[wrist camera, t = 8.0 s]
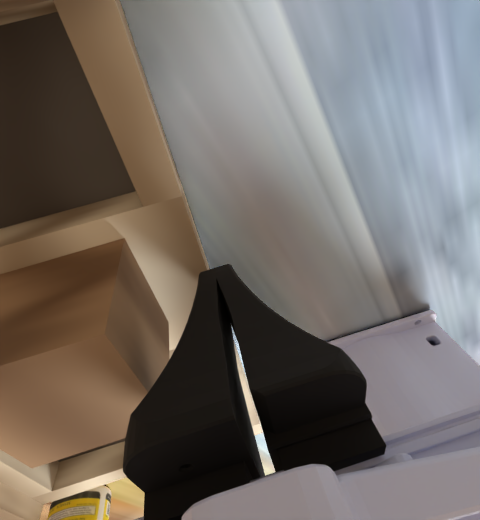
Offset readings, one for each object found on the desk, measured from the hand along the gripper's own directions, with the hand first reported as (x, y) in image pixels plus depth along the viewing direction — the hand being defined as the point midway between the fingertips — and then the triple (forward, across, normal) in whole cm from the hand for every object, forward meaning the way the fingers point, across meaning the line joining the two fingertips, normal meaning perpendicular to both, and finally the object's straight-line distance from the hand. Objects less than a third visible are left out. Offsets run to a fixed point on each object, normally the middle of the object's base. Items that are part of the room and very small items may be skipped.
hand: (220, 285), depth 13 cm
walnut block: (+1, +6, 0) cm, 6 cm away
